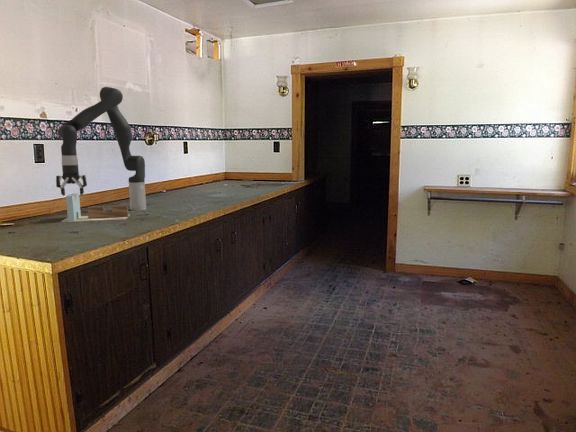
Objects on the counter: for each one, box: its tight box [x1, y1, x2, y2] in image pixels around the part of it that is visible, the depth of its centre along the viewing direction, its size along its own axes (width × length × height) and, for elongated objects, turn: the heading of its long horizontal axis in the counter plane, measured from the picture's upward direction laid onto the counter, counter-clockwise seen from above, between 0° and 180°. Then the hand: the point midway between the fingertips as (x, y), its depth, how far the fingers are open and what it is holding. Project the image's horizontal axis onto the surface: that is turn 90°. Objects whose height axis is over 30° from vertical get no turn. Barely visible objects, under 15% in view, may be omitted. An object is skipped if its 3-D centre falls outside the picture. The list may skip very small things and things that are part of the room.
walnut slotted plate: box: [87, 205, 129, 219], centre depth 232 cm, size 2×20×6 cm, turn 103°
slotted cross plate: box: [65, 192, 82, 222], centre depth 228 cm, size 14×3×13 cm, turn 13°
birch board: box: [60, 213, 131, 223], centre depth 232 cm, size 16×32×1 cm, turn 103°
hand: (72, 195), depth 227 cm, fingers open, 8 cm apart
